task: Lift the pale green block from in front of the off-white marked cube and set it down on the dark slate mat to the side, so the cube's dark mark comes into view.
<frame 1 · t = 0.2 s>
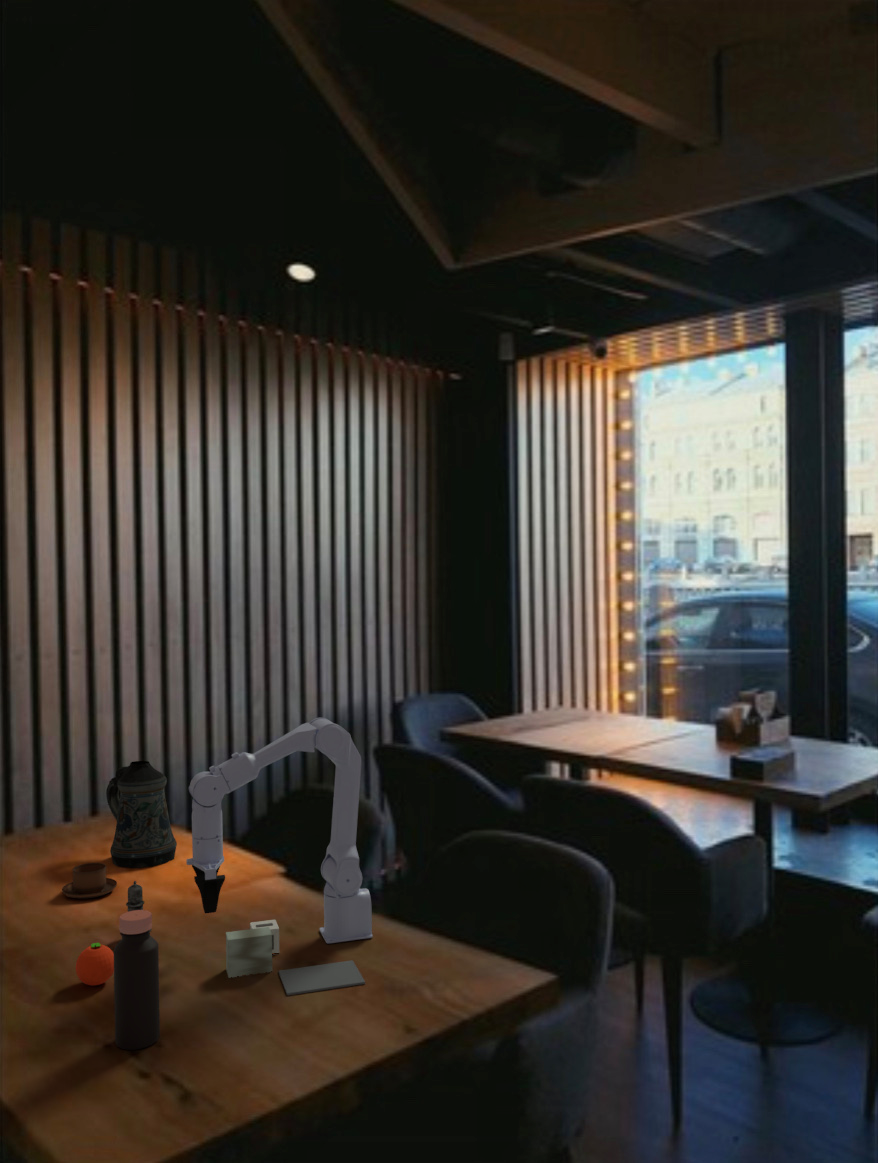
hand: (208, 905, 184), 10 cm above the table, tool pointing down, fingers open, 7 cm apart
bottle: (137, 1041, 152), on the table
slate mat: (321, 978, 174), on the table
pale green block: (249, 970, 178), on the table
marked cube: (264, 950, 187), on the table
cup and saucer: (89, 894, 222), on the table
beer stein: (138, 859, 248), on the table
clementine: (96, 983, 173), on the table
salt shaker: (135, 940, 194), on the table
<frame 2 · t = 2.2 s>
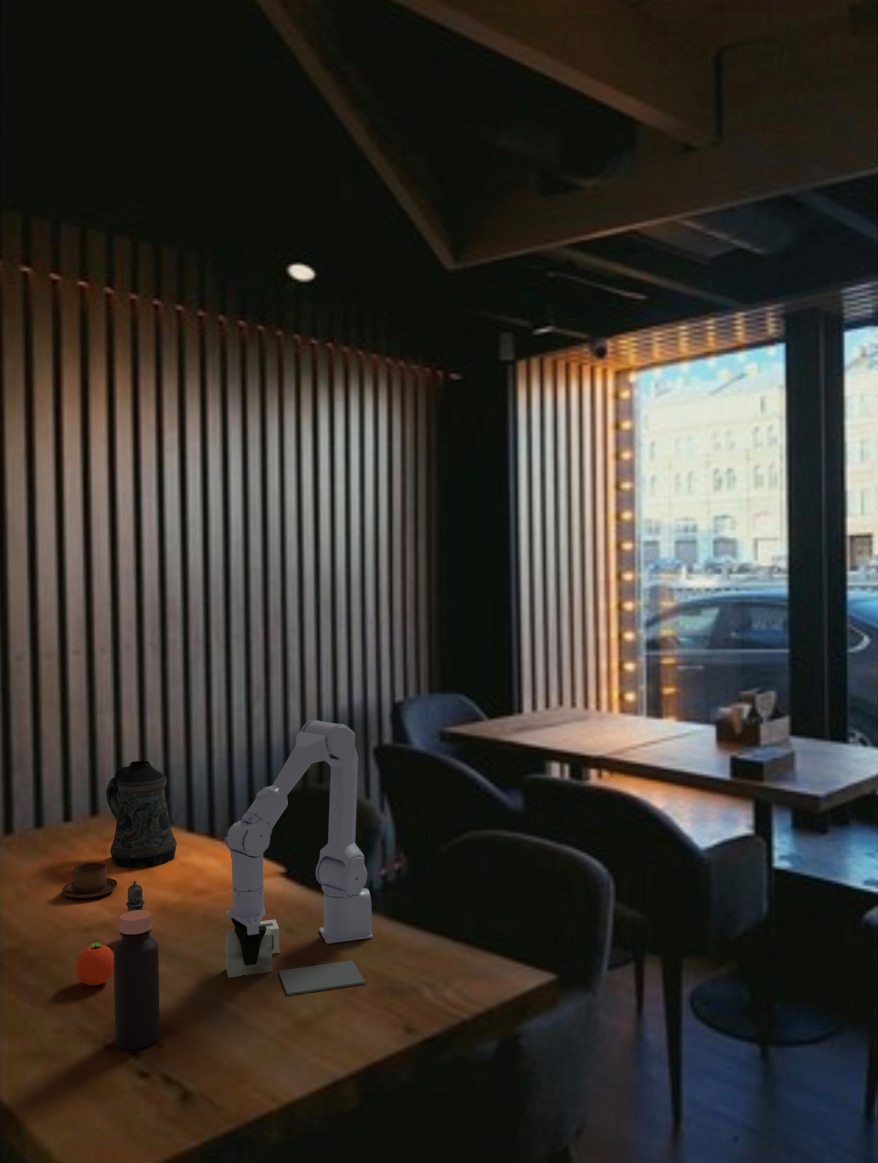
hand: (249, 959, 178), 2 cm above the table, tool pointing down, fingers closed on pale green block, 4 cm apart
pale green block: (249, 970, 178), on the table, touching gripper
everything else where it was.
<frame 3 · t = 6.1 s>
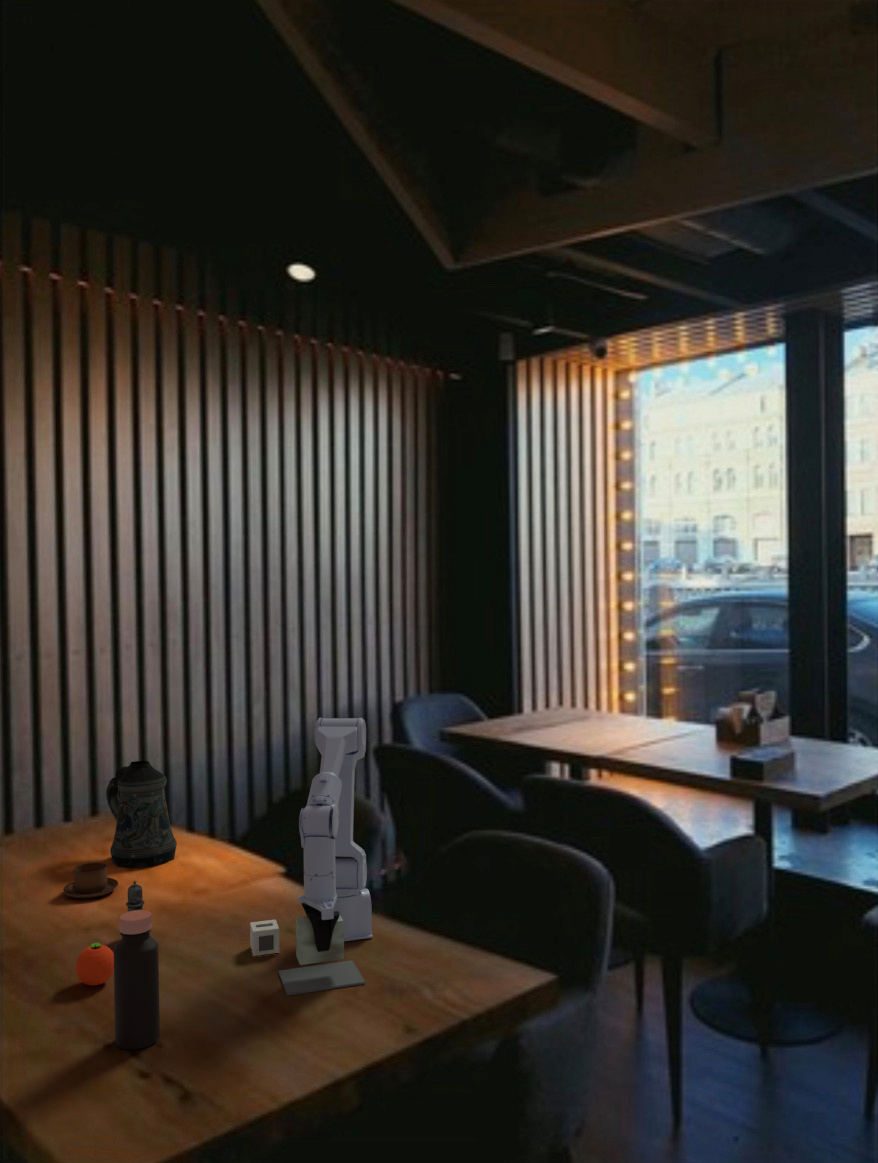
hand: (320, 945, 174), 6 cm above the table, tool pointing down, fingers closed on pale green block, 4 cm apart
pale green block: (320, 957, 174), point 4 cm above the table, touching gripper
everything else where it was.
when the fingers open (3 cm above the table, at t = 7.1 s): pale green block stays where it is, resting on slate mat.
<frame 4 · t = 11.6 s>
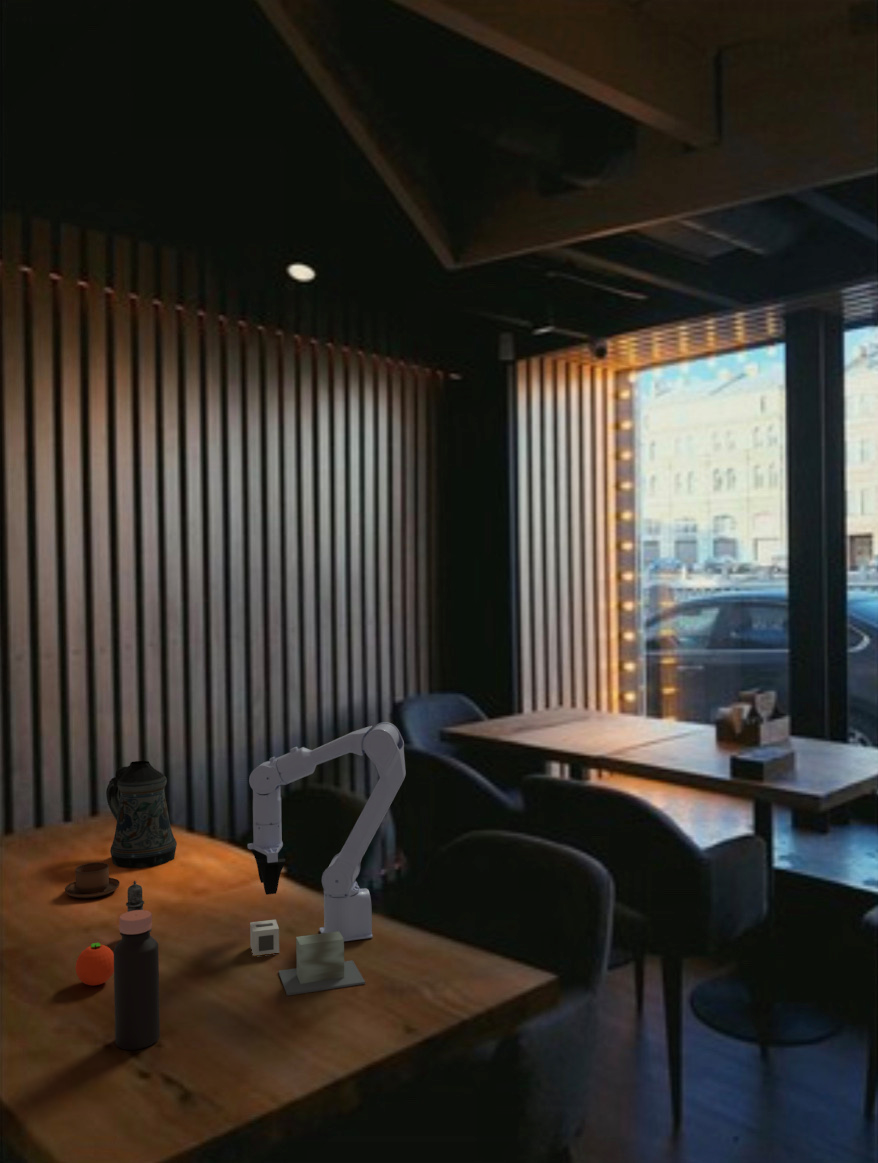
hand: (268, 887, 196), 9 cm above the table, tool pointing down, fingers open, 7 cm apart
pale green block: (320, 976, 174), resting on slate mat
everything else where it was.
at the end: pale green block inside the target area (0.1 cm from its centre), resting on slate mat; pale green block tilted 0°; marked cube moved 0.1 cm from its start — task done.
